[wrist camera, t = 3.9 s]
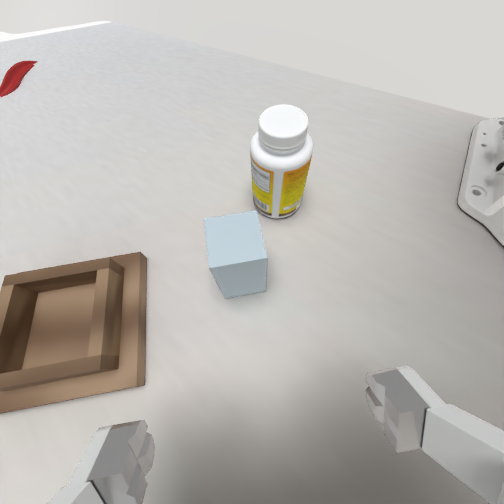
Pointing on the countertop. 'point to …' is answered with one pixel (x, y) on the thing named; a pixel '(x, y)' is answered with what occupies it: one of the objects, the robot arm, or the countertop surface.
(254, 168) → the supplement bottle
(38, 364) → the board
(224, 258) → the block
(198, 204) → the countertop surface
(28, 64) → the cayenne pepper
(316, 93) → the countertop surface
